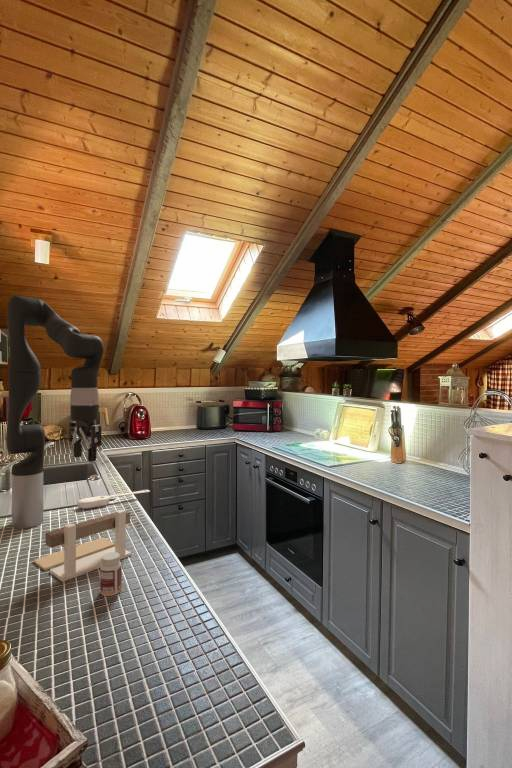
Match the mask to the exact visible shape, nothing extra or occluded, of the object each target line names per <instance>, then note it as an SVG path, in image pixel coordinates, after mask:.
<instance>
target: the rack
mask: <svg viewBox="0 0 512 768" xmlns="http://www.w3.org/2000/svg"><path fill="white" fill-rule="evenodd" d="M126 511H127V510H125V511H124V509H122V508H121V509H118V510H115V512H114V513H115V528H112V529H110V530H111V531H113V532H114V543H115V546H113V547H110V548H108V549H105V550H102V551H99V552H96V553H93V554H91V555H88V556H85V557H82V558H79V559H76V546H77V540H76V525H74V523H68V524H65V525H64V526H63V527H64V544H62V545H60V546H61V547H62V548H63V550H64V564H62V565H59V566H57V567H54V568H51V569H49V573H50V574H51V575H52V576H54V577H55V578H57V579H58V580H59V581H61V582H62V583H63V582H66V581H69V580H71V579H75V578H76V577H79V576H81V575H84V574H87V573H89V572H92V571H94V570H97V569H100V566H101V564H102V556H103V555H104V554H106V553H110V552H117V553H119V554H120V561H121V560H123V559H126V558H128V557H131V556H132V552H131V551H129V550H127V549H126V546H127V545H126V543H127V542H126V541H127V540H126V532H127V530H126V528H127V526H126V525H127V524H126Z"/></svg>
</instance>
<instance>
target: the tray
mask: <svg viewBox="0 0 512 768" xmlns="http://www.w3.org/2000/svg"><path fill="white" fill-rule="evenodd" d="M112 547H115V542H113V541H111V540H110V539H107V538H105V537H100V538H97V539H94V540H91V541H87V542H84V543H81V544H78V545H76V560H78V559H81V558H84V557H87V556H89V555H92V554H95V553H98V552H101V551H103V550H106V549H109V548H112ZM33 563H34V564H35V565H36V566H38V567H39V568H40V569H41V570H43V571H48V570H50V569H53V568H56V567H58V566H61V565H64V549H63V550H59V551H57V552H53V553H51V554H47V555H45V556H42V557H39V558H35V559H33Z"/></svg>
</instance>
